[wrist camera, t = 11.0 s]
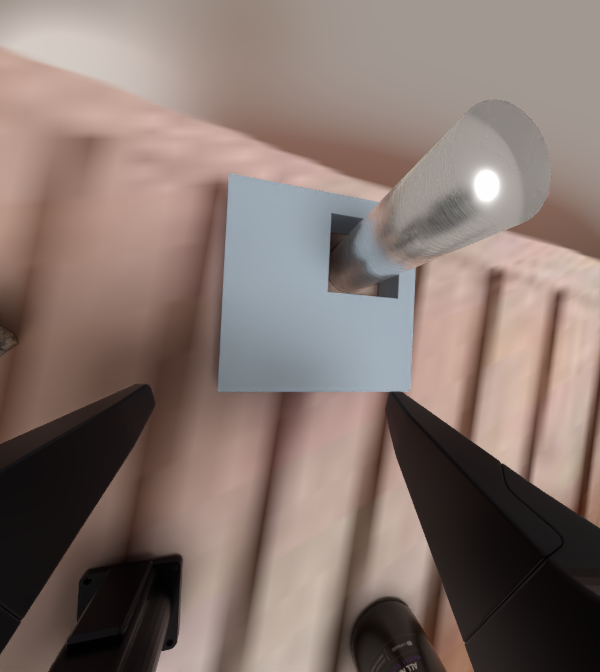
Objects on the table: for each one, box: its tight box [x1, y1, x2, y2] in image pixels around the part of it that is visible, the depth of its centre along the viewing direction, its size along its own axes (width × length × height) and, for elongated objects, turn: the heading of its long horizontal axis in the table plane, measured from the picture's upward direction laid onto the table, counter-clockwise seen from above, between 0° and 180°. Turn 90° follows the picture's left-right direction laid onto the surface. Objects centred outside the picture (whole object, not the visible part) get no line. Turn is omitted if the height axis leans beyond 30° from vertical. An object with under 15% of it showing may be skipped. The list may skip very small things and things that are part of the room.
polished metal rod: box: [328, 100, 551, 293], centre depth 14 cm, size 4×4×13 cm
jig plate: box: [218, 173, 416, 392], centre depth 19 cm, size 15×15×3 cm
